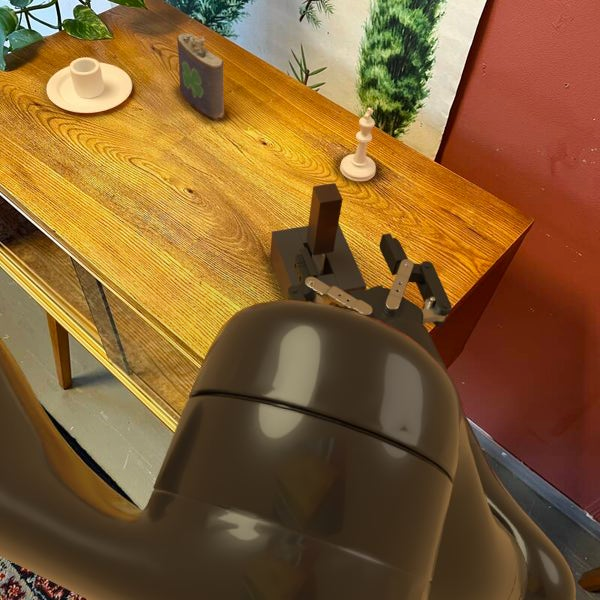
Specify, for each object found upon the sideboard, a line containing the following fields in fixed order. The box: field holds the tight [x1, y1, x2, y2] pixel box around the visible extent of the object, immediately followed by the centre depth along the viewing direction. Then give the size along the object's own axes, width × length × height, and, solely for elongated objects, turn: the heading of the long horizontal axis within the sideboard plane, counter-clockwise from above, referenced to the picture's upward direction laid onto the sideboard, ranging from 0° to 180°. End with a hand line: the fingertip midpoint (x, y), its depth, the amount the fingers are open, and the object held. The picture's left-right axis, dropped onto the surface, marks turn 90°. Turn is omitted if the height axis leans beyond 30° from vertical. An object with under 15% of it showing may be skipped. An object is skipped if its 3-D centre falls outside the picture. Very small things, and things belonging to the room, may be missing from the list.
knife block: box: [269, 223, 367, 307], centre depth 76 cm, size 8×10×5 cm
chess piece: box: [339, 107, 377, 182], centre depth 87 cm, size 5×5×10 cm
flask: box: [176, 32, 225, 122], centre depth 93 cm, size 9×3×11 cm, turn 40°
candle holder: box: [46, 56, 133, 114], centre depth 95 cm, size 12×12×4 cm
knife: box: [307, 182, 344, 276], centre depth 72 cm, size 2×3×15 cm
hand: (343, 246), depth 65 cm, fingers open, 8 cm apart
